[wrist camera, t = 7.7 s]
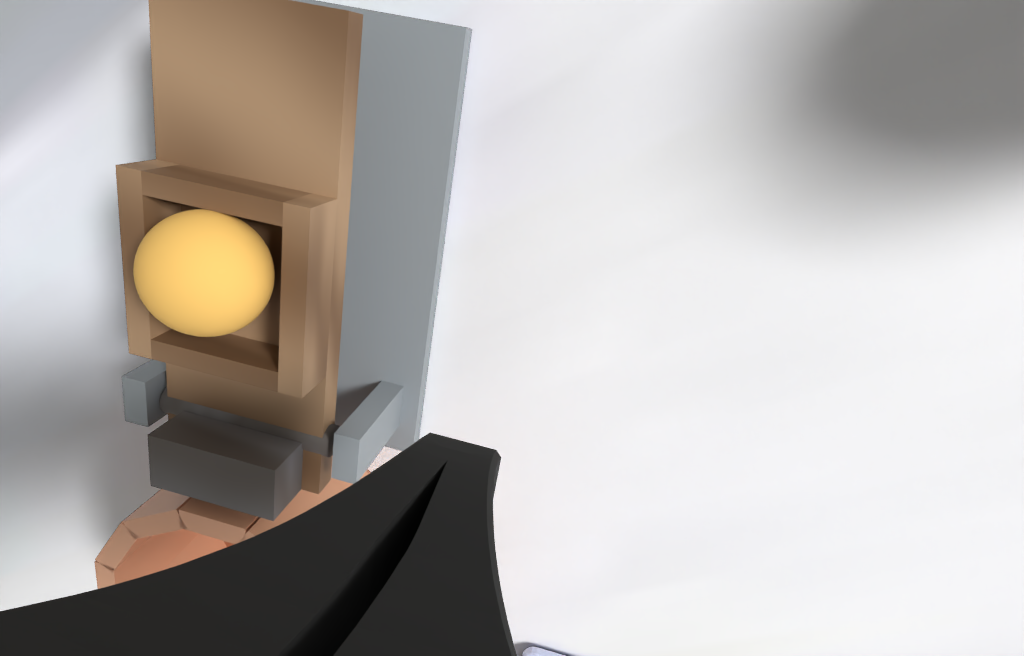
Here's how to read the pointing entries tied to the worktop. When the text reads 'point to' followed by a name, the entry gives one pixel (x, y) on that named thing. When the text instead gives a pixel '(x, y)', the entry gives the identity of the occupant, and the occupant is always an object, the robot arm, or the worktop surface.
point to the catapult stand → (382, 237)
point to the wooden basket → (187, 532)
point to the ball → (204, 273)
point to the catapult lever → (273, 215)
